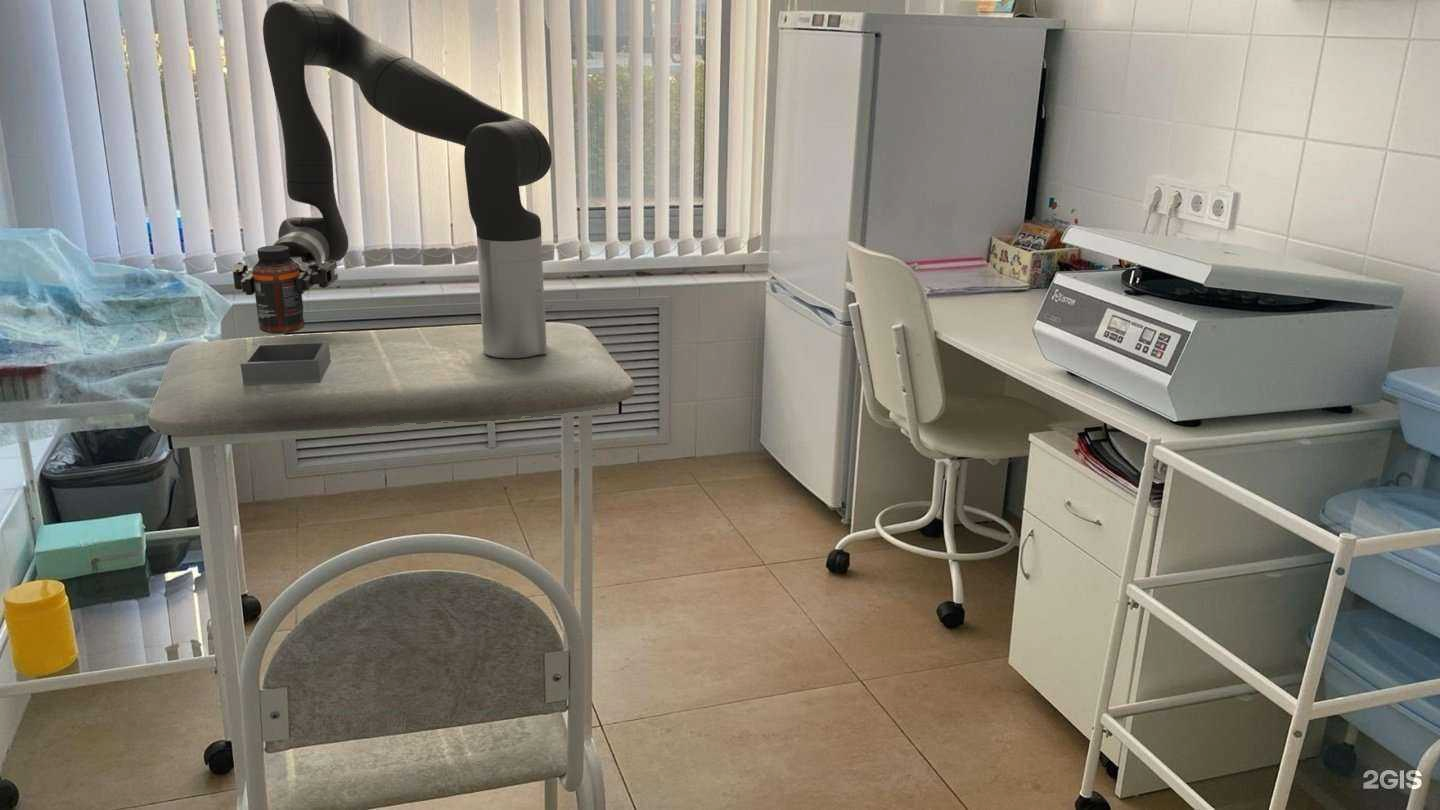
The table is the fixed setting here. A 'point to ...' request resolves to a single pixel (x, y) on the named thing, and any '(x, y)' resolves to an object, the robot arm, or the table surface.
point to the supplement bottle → (277, 291)
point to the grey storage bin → (286, 363)
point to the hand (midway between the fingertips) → (274, 286)
